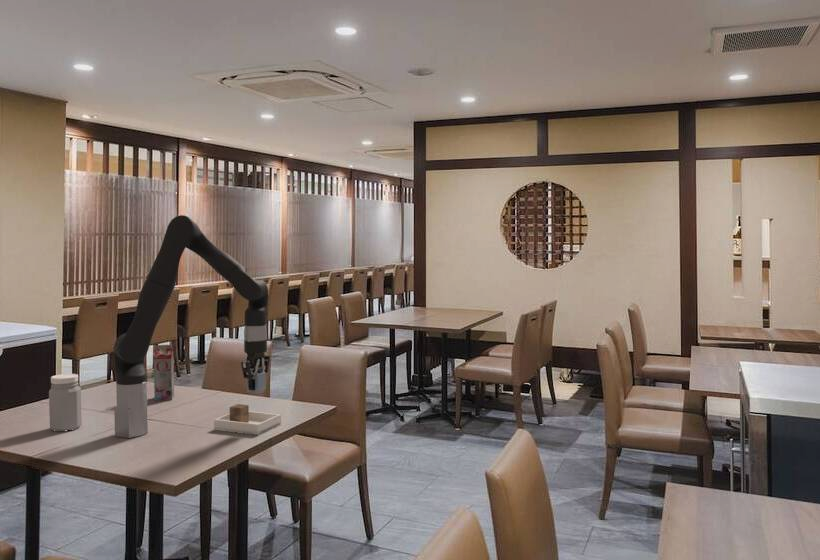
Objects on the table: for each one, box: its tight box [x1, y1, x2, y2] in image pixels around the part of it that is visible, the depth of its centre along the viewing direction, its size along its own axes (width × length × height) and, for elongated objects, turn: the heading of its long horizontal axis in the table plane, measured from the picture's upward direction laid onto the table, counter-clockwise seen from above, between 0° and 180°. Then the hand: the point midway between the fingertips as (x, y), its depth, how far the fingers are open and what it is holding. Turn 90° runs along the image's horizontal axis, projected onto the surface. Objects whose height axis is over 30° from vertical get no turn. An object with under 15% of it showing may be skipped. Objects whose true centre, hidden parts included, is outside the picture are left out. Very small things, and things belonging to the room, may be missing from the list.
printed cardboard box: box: [153, 344, 175, 402], centre depth 259 cm, size 7×7×22 cm
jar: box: [48, 373, 83, 432], centre depth 216 cm, size 10×10×18 cm
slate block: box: [246, 372, 267, 394], centre depth 216 cm, size 4×4×6 cm
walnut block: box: [229, 403, 250, 423], centre depth 219 cm, size 4×4×6 cm
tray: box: [213, 410, 282, 436], centre depth 218 cm, size 14×18×4 cm
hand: (256, 388), depth 216 cm, fingers closed on slate block, 4 cm apart
